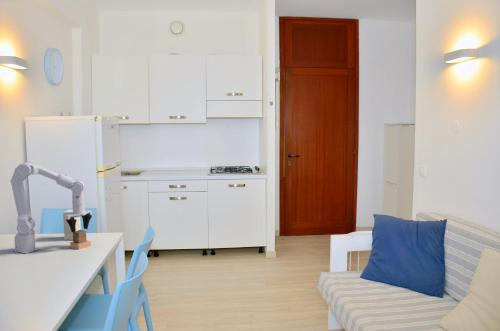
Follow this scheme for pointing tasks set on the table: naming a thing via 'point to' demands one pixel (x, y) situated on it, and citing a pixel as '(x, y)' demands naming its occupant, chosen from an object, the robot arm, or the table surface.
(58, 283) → the table surface
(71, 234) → the skincare box
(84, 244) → the terracotta block
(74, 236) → the walnut block
